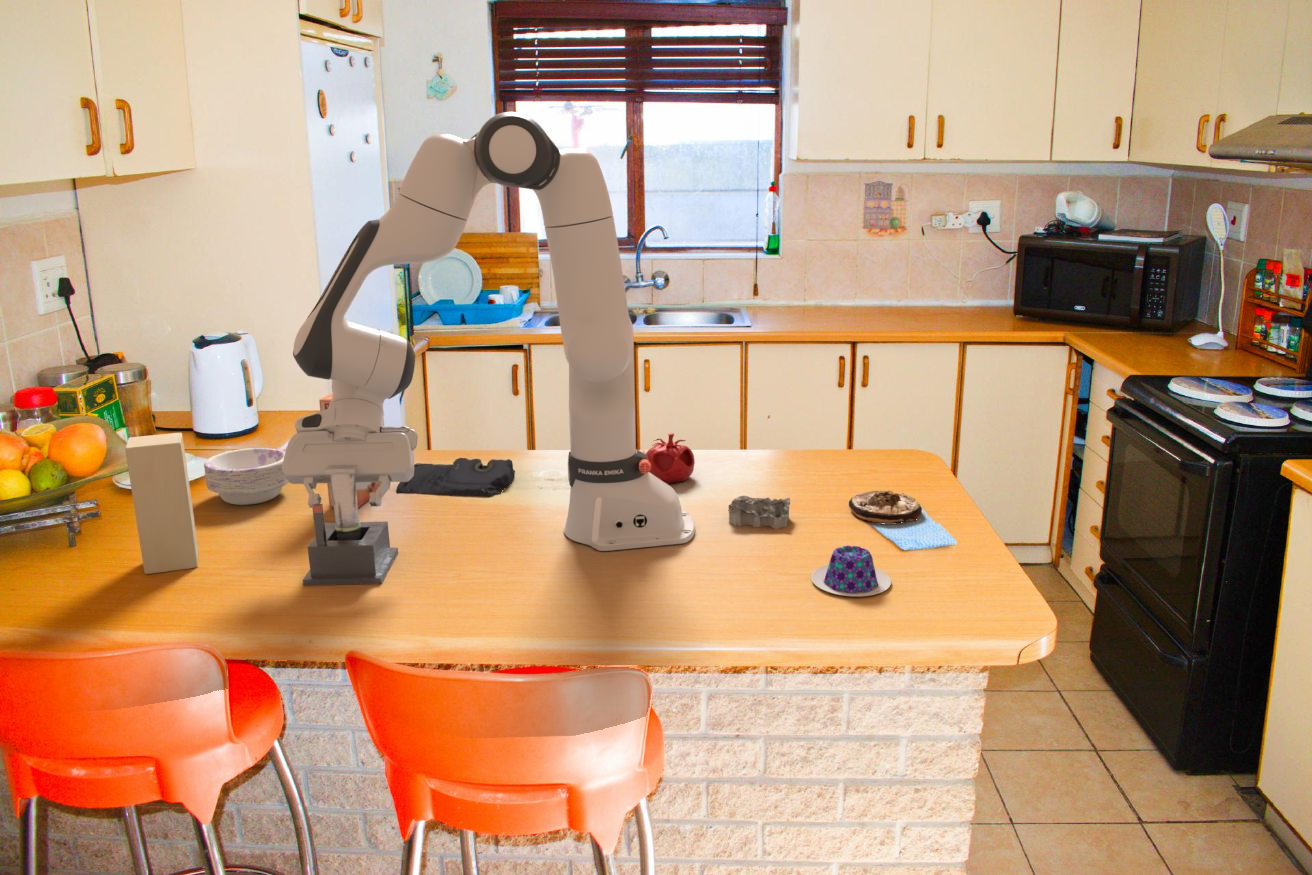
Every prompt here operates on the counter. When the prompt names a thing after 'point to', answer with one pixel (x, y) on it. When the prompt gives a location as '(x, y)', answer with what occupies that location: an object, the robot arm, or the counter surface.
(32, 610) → the counter surface
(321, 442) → the robot arm
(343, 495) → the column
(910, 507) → the chocolate cream pie
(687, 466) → the pomegranate
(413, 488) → the folded black cloth
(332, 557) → the housing
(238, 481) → the paper bowls
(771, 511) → the egg carton
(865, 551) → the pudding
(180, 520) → the upright wooden block
